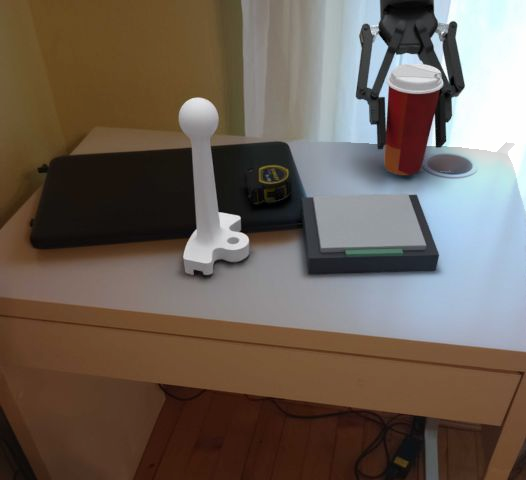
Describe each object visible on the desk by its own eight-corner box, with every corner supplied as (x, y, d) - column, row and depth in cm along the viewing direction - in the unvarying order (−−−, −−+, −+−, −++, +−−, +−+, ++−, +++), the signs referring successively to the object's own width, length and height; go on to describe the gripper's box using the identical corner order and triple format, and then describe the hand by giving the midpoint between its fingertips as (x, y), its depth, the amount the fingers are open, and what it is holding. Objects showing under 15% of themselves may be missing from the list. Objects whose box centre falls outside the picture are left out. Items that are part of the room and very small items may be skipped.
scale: (414, 209, 89) (417, 189, 87) (435, 270, 79) (440, 249, 77) (300, 212, 89) (301, 192, 87) (308, 273, 79) (309, 252, 77)
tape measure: (243, 186, 94) (242, 163, 91) (288, 182, 95) (288, 159, 92) (248, 211, 89) (247, 187, 87) (296, 206, 90) (297, 183, 87)
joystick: (211, 224, 87) (198, 77, 73) (262, 234, 85) (260, 85, 71) (177, 271, 80) (155, 118, 66) (232, 283, 78) (222, 128, 64)
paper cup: (433, 159, 97) (450, 66, 88) (421, 183, 93) (437, 87, 83) (384, 150, 100) (396, 58, 90) (369, 172, 95) (379, 78, 85)
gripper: (337, -28, 87) (342, 138, 86) (487, -32, 87) (492, 134, 87) (331, 3, 94) (336, 155, 94) (469, -1, 94) (474, 151, 94)
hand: (411, 145), depth 90 cm, fingers closed on paper cup, 8 cm apart
